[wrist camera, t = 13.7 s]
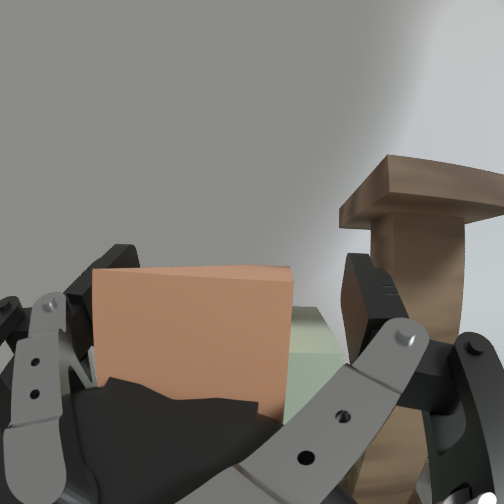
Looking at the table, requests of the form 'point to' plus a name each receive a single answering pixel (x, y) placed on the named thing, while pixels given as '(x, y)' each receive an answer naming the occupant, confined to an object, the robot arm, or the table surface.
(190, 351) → the peach wooden plank
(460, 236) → the walnut stand
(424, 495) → the table surface
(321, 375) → the sage block
